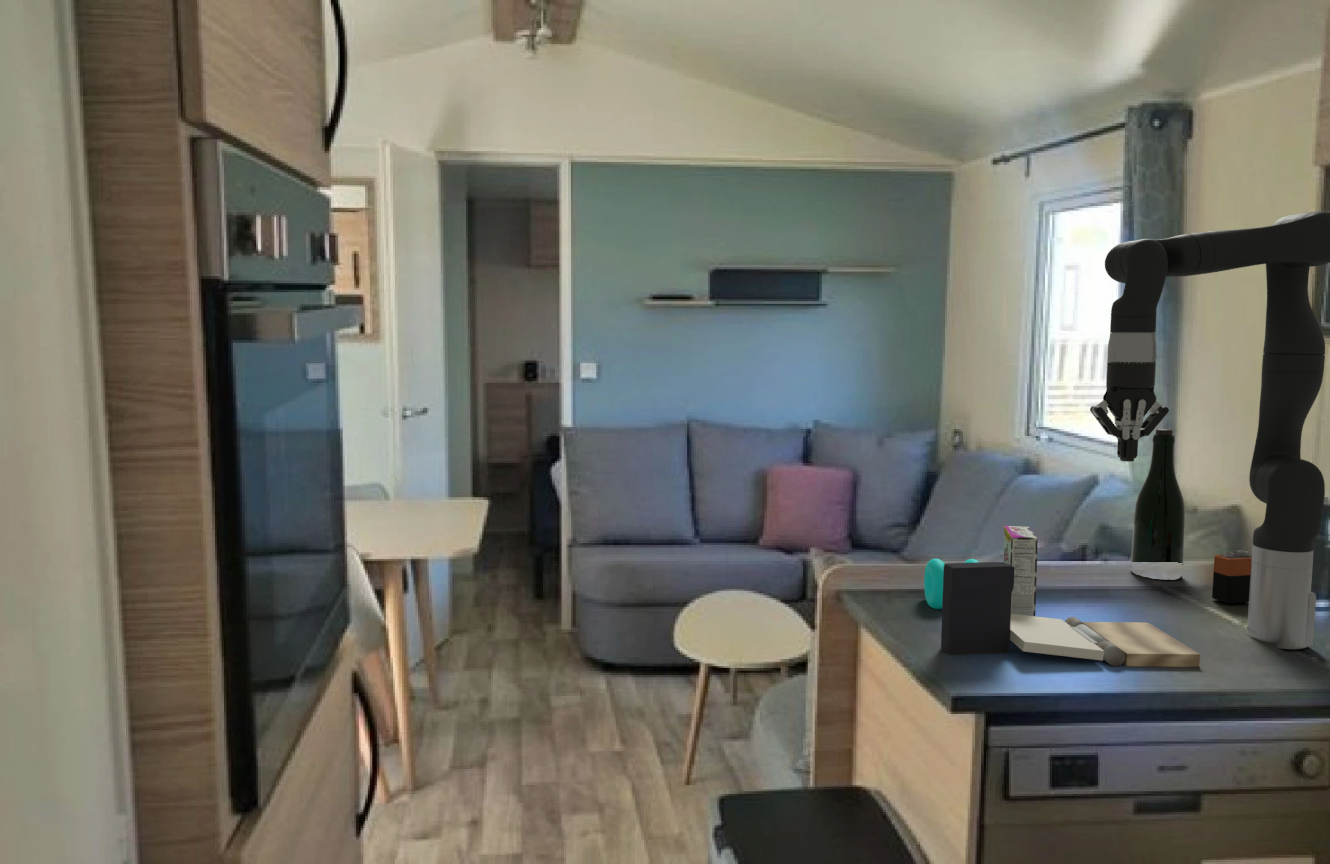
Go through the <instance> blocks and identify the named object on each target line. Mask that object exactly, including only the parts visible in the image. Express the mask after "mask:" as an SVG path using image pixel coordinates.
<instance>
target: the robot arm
mask: <svg viewBox="0 0 1330 864" xmlns="http://www.w3.org/2000/svg"><path fill="white" fill-rule="evenodd" d="M1329 263H1330V212H1329V211H1322V210H1321V211H1320V210H1319V211H1316V210H1315V211H1309V212H1302V213H1296V214H1289V215H1286V216H1284V217H1280V218H1279V219H1277V220H1276V221H1275V222H1274V223H1273V224H1272V225H1267V226H1260V227H1250V228H1238V229H1225V230H1223V229H1222V230H1221V229H1220V230H1213V231H1212V230H1211V231H1201V232H1193V233H1186V234H1180V235H1174V236H1172V237H1167V238H1162V239H1161V238H1160V239H1159V238H1158V239H1154V238H1142V239H1137V240H1130V241H1124V242H1121V243H1118V244H1116V245H1114V247H1112V248H1111V250H1109V252H1107V254H1106V256H1105V259H1104V269H1105V272H1106V274H1107V275H1108V276H1109V277H1110V278H1111V279H1112V280H1113V281H1115V282H1118V283H1121V284H1124V288H1123V293H1122V295H1121V296H1120V297H1119V298H1117V299H1116V300H1115V301H1113V303H1112V304H1111V310H1110V328H1109V329H1110V330H1109V332H1110V333H1109V340H1108V344H1107V355H1106V357H1107V362H1106V378H1105V379H1106V380H1105V383H1106V384H1105V386H1106V387H1105V388H1106V389H1105V393H1104V395H1103V398H1102V399H1103V400H1102V401H1101V402H1099V403H1097V404H1096V405H1092V406H1090V409H1089V411H1090V413H1091V414H1092V416H1094V418H1095V419H1096V421H1097V422H1098V423H1099V425H1100V426H1101V427H1102V429H1103V430H1104V431H1105V434H1107V435H1110V436H1113V437H1116V439H1117V447H1116V448H1117V449H1116V450H1117V453H1116V454H1117V458H1120V459H1119V460H1120V461H1121V462H1129V463H1130V462H1134V461H1135V459H1137V457H1138V447H1139V440H1140V439H1141V438H1144V437H1147V436H1150V435H1151V434H1152V433H1153V431H1154V430H1156V428H1157V426H1159V424H1160V423H1161V421H1162V420H1163V419H1164V418H1165V417H1166V416H1167V415H1168V413H1169V411H1170V409H1169V408H1168V407H1167V406H1163V405H1162V404H1160V403H1159V401H1157V395H1156V394H1155V385H1156V370H1157V369H1156V366H1157V359H1158V358H1157V357H1158V355H1157V348H1158V347H1157V337H1156V335H1157V333H1156V331H1157V309H1158V305H1159V302H1160V299H1161V297H1162V292H1163V289H1164V286H1165V282H1166V279H1167V277H1189V276H1190V277H1192V276H1198V275H1199V276H1200V275H1205V274H1206V275H1207V274H1213V273H1219V272H1223V271H1230V270H1235V269H1241V268H1247V267H1252V266H1259V265H1265V274H1266V277H1265V278H1266V308H1265V309H1266V313H1265V331H1264V332H1265V333H1264V340H1263V341H1264V343H1263V348H1262V349H1263V351H1262V364H1261V380H1260V383H1261V385H1260V399H1259V410H1258V427H1257V433H1256V439H1255V444H1254V448H1253V449H1254V450H1253V453H1252V458H1251V464H1250V469H1249V478H1248V481H1249V487H1250V489H1251V492H1252V493H1253V495H1254V497H1256V499H1258V500H1259V501H1260V502H1262V503H1264V504H1266V507H1265V514H1264V521H1263V523H1262V524H1261V525H1260V526H1257V527H1256V528H1254V531H1253V534H1252V544H1251V545H1252V547H1251V548H1252V549H1251V556H1252V561H1251V577H1250V592H1249V602H1248V610H1247V611H1248V612H1247V623H1246V625H1247V626H1246V634H1247V636H1248V637H1250V638H1252V639H1255V640H1258V641H1262V642H1265V643H1267V644H1270V645H1271V646H1274V647H1275V648H1277V649H1283V650H1301V649H1305V648H1308V647H1309V648H1311V647H1312V648H1313V645H1314V630H1315V619H1316V618H1315V615H1316V603H1317V595H1316V593H1315V592H1312V580H1313V579H1312V577H1313V564H1314V563H1313V562H1314V550H1315V542H1316V540H1317V538H1318V536H1319V534H1320V531H1321V528H1322V523H1323V522H1322V521H1323V520H1322V519H1323V515H1324V514H1323V512H1324V504H1325V496H1326V493H1325V489H1326V487H1325V486H1326V485H1325V478H1324V476H1323V472H1322V471H1321V470H1320V468H1319V467H1318V466H1317V465H1315V464H1314V463H1313V462H1310V461H1309V460H1306V459H1302V457H1301V453H1302V452H1301V449H1302V447H1301V446H1302V434H1303V433H1302V432H1303V428H1304V425H1305V422H1306V419H1307V417H1308V414H1309V413H1310V410H1311V409H1312V407H1313V405H1314V403H1315V401H1316V400H1317V397H1318V395H1319V392H1320V390H1321V387H1322V384H1323V381H1324V380H1323V378H1324V372H1325V361H1326V341H1325V338H1324V334H1323V332H1322V330H1321V329H1322V328H1321V327H1320V324H1319V321H1318V320H1317V318H1316V315H1315V313H1314V311H1313V308H1312V306H1311V303H1310V298H1309V279H1310V278H1309V277H1310V267H1320V266H1324V265H1327V264H1329ZM1109 411H1110V412H1111V415H1112V416H1113V417H1114V421H1113V420H1112V419H1111V418H1110V417H1109V415H1108V414H1109ZM1148 413H1149V415H1148V416H1147V417H1146V418H1145V420H1144V417H1145V416H1146V415H1147V414H1148Z"/></svg>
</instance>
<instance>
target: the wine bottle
mask: <svg viewBox="0 0 1330 864" xmlns="http://www.w3.org/2000/svg"><path fill="white" fill-rule="evenodd" d="M1173 432H1174V431H1173V429H1170V428H1157V429H1156V428H1155V434H1153V437H1152V454H1151V460H1150V466H1149V471H1148V473H1147V476H1146V478H1145V480H1144V483H1143V484H1142V487H1141V489H1140V491H1139V493H1138V495H1137V499H1136V502H1135V503H1136V504H1135V508H1134V509H1135V510H1134V517H1133V519H1134V520H1133V528H1132V529H1133V530H1132V542H1131V558H1130V563H1131V562H1178V563H1183V564H1184V560H1185V558H1184V557H1185V531H1186V530H1185V527H1186V510H1185V509H1186V508H1185V501H1184V500H1185V499H1184V497H1183V493H1182V491H1181V488H1180V485H1179V483H1178V480H1177V475H1176V471H1175V457H1174V455H1175V454H1174V453H1175V443H1176V439H1175V435H1174V434H1173Z"/></svg>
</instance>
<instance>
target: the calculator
mask: <svg viewBox="0 0 1330 864" xmlns="http://www.w3.org/2000/svg"><path fill="white" fill-rule="evenodd" d="M1014 570H1015V569H1014V567H1013V566H1011V565H1009V564H1007V563H1005V562H1003V561H987V562H986V561H985V562H984V561H983V562H982V561H979V562H977V563H964V562H953V563H952V562H951V563H949V562H948V563H945V564H944V574H943V603H942V609H941V611H942V612H941V633H940V634H941V636H940V650H942V651H943V652H945V653H946V654H947V655H949V656H950V655H952V656H953V655H983V654H985V655H986V654H987V655H989V654H1006V653H1007V654H1008V653H1009V652H1010V642H1011V640H1010V622H1011V598H1012V591H1013V589H1014Z"/></svg>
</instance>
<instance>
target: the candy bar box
mask: <svg viewBox="0 0 1330 864" xmlns="http://www.w3.org/2000/svg"><path fill="white" fill-rule="evenodd" d="M1038 540H1039V538H1038V537H1037V536H1036V534H1035V533H1034V531H1033V530H1032V529H1031V528H1030V527H1029V526H1022V525H1021V526H1019V525H1013V526H1012V525H1004V526H1003V546H1002V547H1003V550H1002V551H1003V553H1002V555H1003V556H1002V558H1003V559H1002V562H1005V563H1007V564H1009V565H1011V566H1013V567H1014V569H1015V570H1014V589H1013V591H1012V598H1011V614H1019V615H1027V616H1036V607H1037V605H1036V604H1037V603H1036V600H1037V599H1036V598H1037V572H1038V570H1037V569H1038V543H1039V542H1038Z"/></svg>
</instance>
